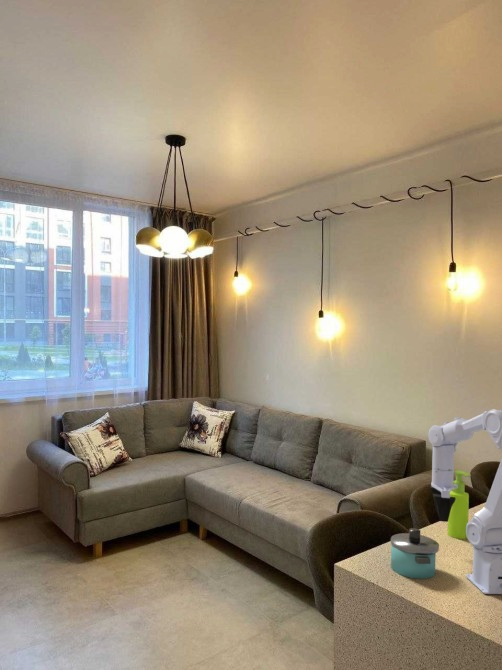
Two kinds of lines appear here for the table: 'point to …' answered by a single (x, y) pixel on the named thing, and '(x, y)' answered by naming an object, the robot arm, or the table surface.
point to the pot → (412, 564)
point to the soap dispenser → (459, 508)
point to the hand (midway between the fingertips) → (441, 516)
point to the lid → (414, 543)
